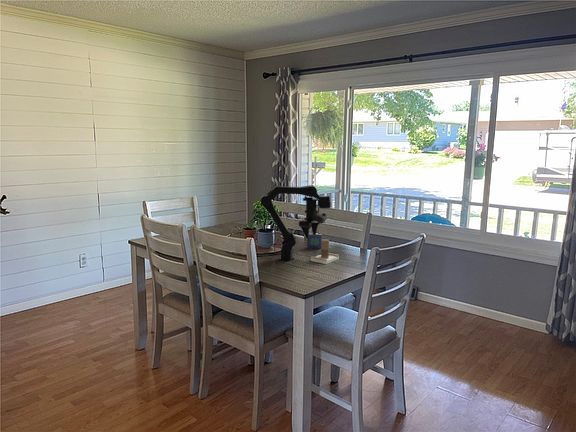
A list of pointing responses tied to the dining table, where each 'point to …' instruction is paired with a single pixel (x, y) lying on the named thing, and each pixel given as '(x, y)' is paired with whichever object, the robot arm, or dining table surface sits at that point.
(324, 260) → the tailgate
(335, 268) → the dining table surface
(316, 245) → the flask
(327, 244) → the walnut block
